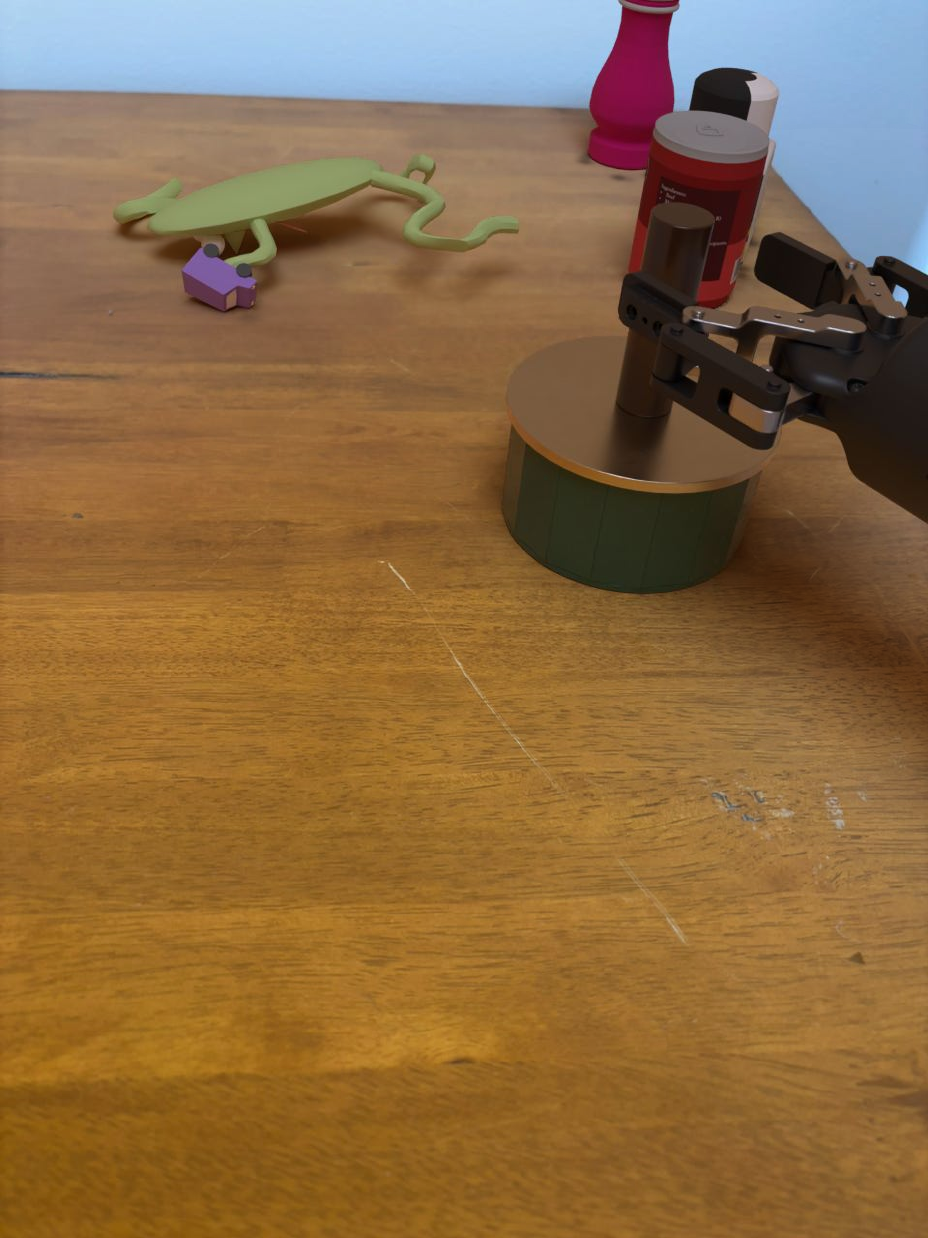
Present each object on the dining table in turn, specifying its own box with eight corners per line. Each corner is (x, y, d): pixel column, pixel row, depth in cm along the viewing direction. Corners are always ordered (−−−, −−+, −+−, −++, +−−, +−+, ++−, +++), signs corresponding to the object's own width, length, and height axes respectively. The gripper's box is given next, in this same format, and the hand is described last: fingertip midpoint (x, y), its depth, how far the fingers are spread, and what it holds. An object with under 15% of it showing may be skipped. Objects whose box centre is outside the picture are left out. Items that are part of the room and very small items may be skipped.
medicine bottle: (649, 246, 87) (680, 80, 79) (667, 212, 92) (698, 53, 84) (741, 265, 86) (783, 98, 78) (754, 230, 91) (795, 70, 83)
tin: (627, 428, 68) (647, 329, 63) (787, 542, 60) (822, 439, 56) (455, 491, 62) (464, 387, 57) (611, 626, 54) (634, 518, 50)
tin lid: (645, 333, 64) (684, 139, 57) (833, 451, 57) (904, 244, 49) (450, 395, 58) (466, 184, 51) (631, 538, 50) (681, 314, 43)
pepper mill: (622, 136, 105) (664, -120, 92) (680, 162, 101) (733, -100, 88) (565, 149, 101) (601, -115, 88) (623, 178, 97) (669, -95, 84)
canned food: (697, 258, 86) (731, 106, 79) (753, 307, 81) (795, 149, 74) (606, 267, 84) (633, 111, 76) (658, 318, 78) (692, 156, 71)
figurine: (529, 304, 79) (538, 224, 75) (127, 327, 72) (116, 242, 68) (457, 196, 92) (463, 124, 88) (112, 207, 85) (102, 130, 81)
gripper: (1162, 311, 42) (825, 160, 52) (930, 414, 36) (588, 218, 45) (1075, 478, 47) (781, 313, 57) (856, 596, 41) (562, 386, 50)
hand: (696, 271), depth 51 cm, fingers open, 8 cm apart
